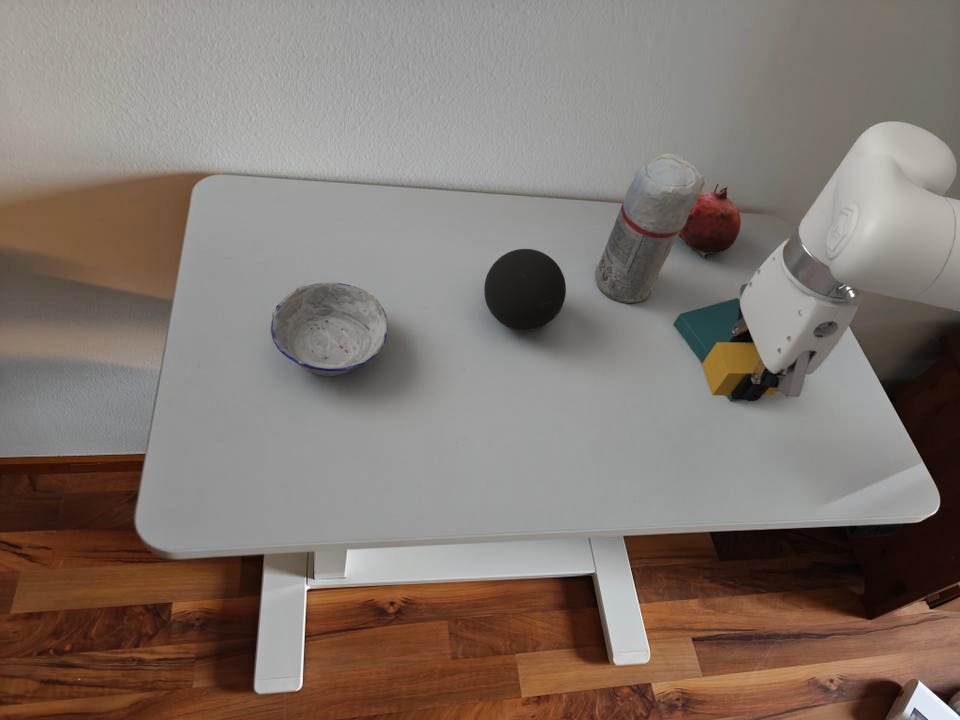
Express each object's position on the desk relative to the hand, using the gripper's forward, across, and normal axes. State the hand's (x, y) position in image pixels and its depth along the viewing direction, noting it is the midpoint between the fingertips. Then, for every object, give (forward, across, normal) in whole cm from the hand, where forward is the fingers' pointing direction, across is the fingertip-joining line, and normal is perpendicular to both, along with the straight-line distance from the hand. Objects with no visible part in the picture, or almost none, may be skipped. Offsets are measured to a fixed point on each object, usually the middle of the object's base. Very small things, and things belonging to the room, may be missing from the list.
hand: (737, 378), depth 78 cm
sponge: (0, 0, 0) cm, 0 cm away
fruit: (+12, +33, -10) cm, 36 cm away
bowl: (+11, +12, +43) cm, 46 cm away
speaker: (+11, +18, +20) cm, 29 cm away
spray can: (+11, +24, +4) cm, 27 cm away
